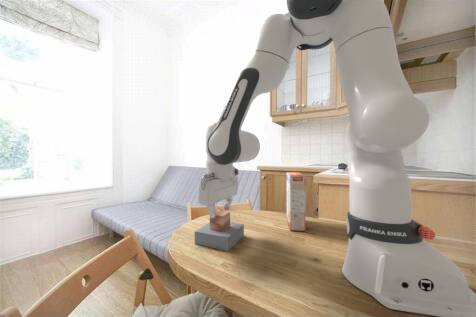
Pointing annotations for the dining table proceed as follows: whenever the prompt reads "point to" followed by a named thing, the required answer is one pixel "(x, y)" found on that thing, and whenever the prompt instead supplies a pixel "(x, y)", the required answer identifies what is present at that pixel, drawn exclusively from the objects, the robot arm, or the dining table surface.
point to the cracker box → (296, 201)
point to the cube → (220, 221)
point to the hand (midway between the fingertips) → (220, 213)
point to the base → (219, 236)
